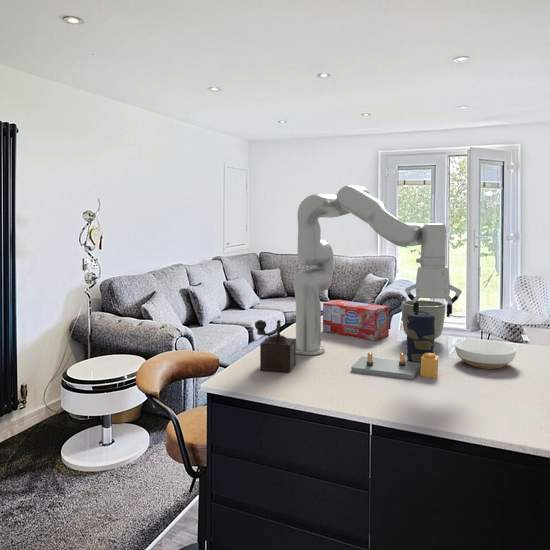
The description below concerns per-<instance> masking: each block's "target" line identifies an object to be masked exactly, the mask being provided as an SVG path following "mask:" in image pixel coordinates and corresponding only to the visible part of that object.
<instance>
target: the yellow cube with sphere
mask: <svg viewBox="0 0 550 550" xmlns="http://www.w3.org/2000/svg"><path fill="white" fill-rule="evenodd" d="M438 373H439V355H436V353H435V352H434V353H424V354H423V355H422V357H421V363H420V377H426V378H434V379H437V377H438Z"/></svg>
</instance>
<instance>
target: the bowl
mask: <svg viewBox="0 0 550 550" xmlns="http://www.w3.org/2000/svg"><path fill="white" fill-rule="evenodd" d="M454 347H455V348H454V349H455V352H456V355H457V356H458V357H459V359H461V361H463V362H464V363H467V365H469V366H472V367H475V368H478V367H479V369H485V368H486V369H487V370H488V369H489V370H494V369H495V368H496V369H500V368H502V367H505V366H507V365H508V364H511V363H512V362H513V361H514V359H515V357H516V356H517V355H516V354H517V349H516V348H515V347H514V346H512V345H510V344H507V343H503V342H498V341H493V340H484V339H468V340H467V339H466V340H461V341H458V342H456V343H455V344H454Z"/></svg>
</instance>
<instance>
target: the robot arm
mask: <svg viewBox="0 0 550 550" xmlns="http://www.w3.org/2000/svg"><path fill="white" fill-rule="evenodd" d="M296 214H297V259H298V262H299V263H300V264H301V265H303V266H307V267H308V266H311V267H310V268H307V269H302V270H301V271H300V270H299V272H297V273H296V274H295V276H294V278H293V285H292V286H293V289H294V290H293V291H294V297H295V298H294V299H295V338H294V339H296V355H304V356H315V355H316V356H317V355H320V354H321V355H322V354H324V352H325V351H326V350H325V349H326V348H325V347H324V346H322V345H321V340H322V339H321V338H322V337H321V335H322V334H321V333H322V329H321V328H322V325H321V324H322V322H321V321H322V317H321V316H322V307H321V306H322V305H321V299H320V296H319V293H322V292H324V291H327V290H328V289H330V287H331V285H332V283H333V279H334V277H333V275H334V274H333V272H334V271H333V270H334V250H333V248H332V246H331V244H330V243H329V242H328V241H326V240H324V239H321V225H320V222H319V219H320V218H332V219H333V218H339V217H342V216H345V215H348V214H352V215H353V216H355V217H357V218H358V219H359V220H361V221H363V222H365V223H366V224H368V225H369V227H370V228H371V229H372V230H373V231H374V232H375V233H377V234H378V235H379V236H380V237H382V238H383V239H385V240H387V241H388V242H389V243H392V244H393V245H395V246H398V247H401V248H406V247H414V246H420V257H419V258H416V260H415V261H416V262H415V263H416V264H417V263H419V264H420V266H418V267H417V270H416V280H415V284H412V285H410V286H408V287H406V288H404V291H405V293H406V296H407V297H408V299H409V300H412V302H413V312H415V315H418V314H419V302H418V300H420V299H442V300H443V299H444V300H445V301H446V303H447V304H446V317H447V318H449V317H450V316H451V315H453V304H454V303H455V302H456V301H457V300H458V299H459V298H460V296H461V294H462V293H463V291H462V289H460V288H458V287H456V286H454V285H452V284H451V283H450V272H449V267H448V266H446V265H447V264H446V263H447V257H446V256H447V226H446V224H445V223H441V222H435V223H432V222H431V223H419V222H418V223H416V222H404V221H402V220H401V219H399V218H397V217H395V216H394V215H392V214H390V212H388V211H387V210H386V209H385V204H384V202H382V201H381V200H379V199H377V198H375V197H373V196H371V194H370V192H369V190H368V189H367V188H366V187H364V186H361V185H353V184H347V185H343V186H342V187H340V189H339V190H338V191H337V193H336V194H326V193H314V194H309V195H308V196H306V197H305V198H304V199H303V200H301V202H300V204H299V205H298V209H297V213H296ZM413 290H415V295H413V294H412V291H413ZM451 291H453V292H455V295H454V296H453V297H451V296H450V292H451Z"/></svg>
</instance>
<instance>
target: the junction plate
mask: <svg viewBox="0 0 550 550" xmlns="http://www.w3.org/2000/svg"><path fill="white" fill-rule="evenodd" d="M367 361H368V356H363V355H362V356H361V357H360V358H359V359H358V360H357V361H355V363H354V364H353V365H352V366H351V368H350V369H351V370H350V372H352V373H359V374H366V375H367V374H368V375H374V376H383V377H388V378H389V377H390V378H398V379H399V378H400V379H404V380H405V379H406V380H414V379H415V377H416V375H417V373H418V371H419V369H420V368H421V363H418V362H413V361H406V360H405V362H406V366H399V362H400V360H397V359H388V358H380V357H372V362H373V366H368V365H367Z"/></svg>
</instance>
